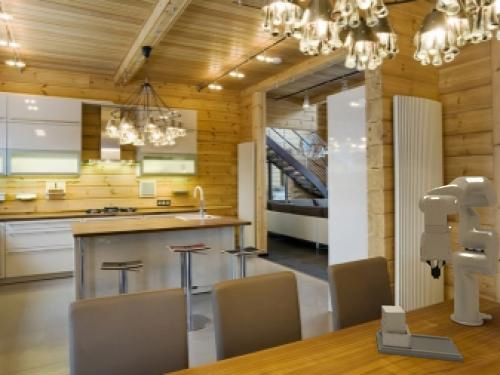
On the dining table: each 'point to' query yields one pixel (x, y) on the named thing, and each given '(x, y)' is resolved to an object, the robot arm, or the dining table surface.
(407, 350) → the base plate
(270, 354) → the dining table surface
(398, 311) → the supplement box
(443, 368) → the dining table surface
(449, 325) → the dining table surface
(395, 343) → the collar
